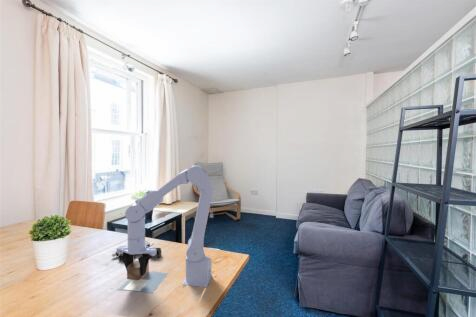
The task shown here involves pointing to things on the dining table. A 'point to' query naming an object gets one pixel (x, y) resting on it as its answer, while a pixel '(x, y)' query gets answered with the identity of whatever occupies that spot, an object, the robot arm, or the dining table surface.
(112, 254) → the robot toy
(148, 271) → the terracotta block
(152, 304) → the dining table surface
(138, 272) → the walnut block
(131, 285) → the plate
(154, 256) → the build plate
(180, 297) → the dining table surface
